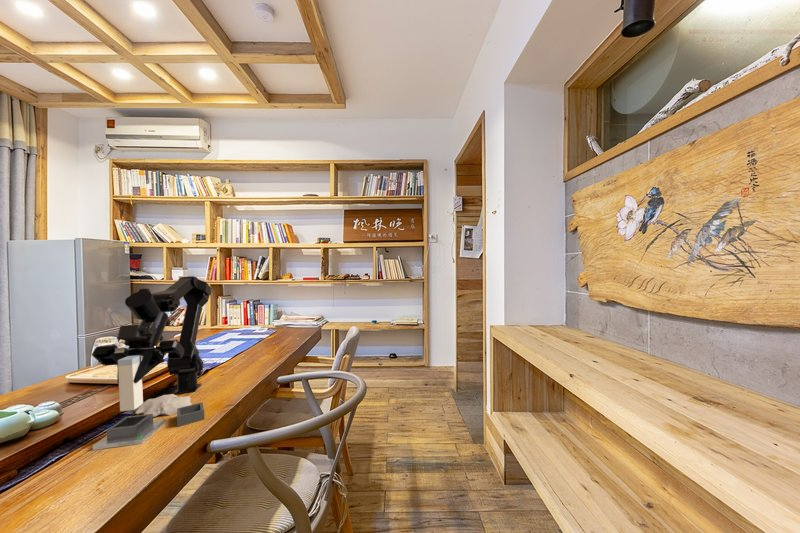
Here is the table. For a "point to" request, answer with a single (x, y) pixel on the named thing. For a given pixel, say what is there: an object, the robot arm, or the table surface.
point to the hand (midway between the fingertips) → (127, 383)
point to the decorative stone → (163, 405)
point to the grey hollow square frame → (190, 414)
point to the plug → (129, 383)
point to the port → (129, 431)
